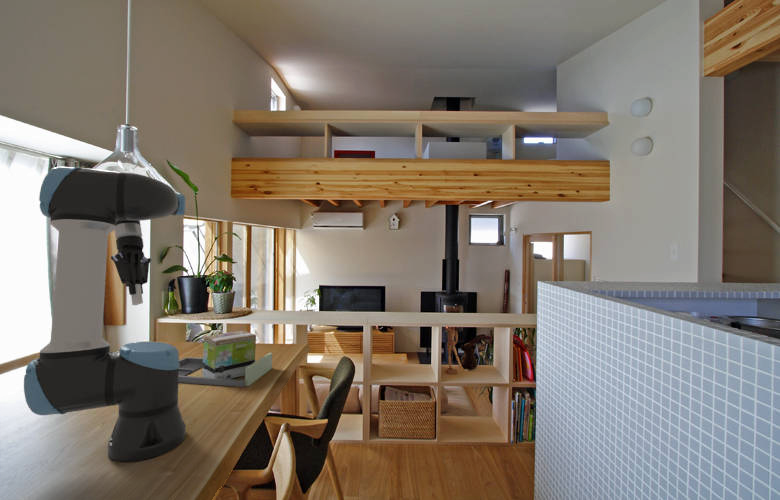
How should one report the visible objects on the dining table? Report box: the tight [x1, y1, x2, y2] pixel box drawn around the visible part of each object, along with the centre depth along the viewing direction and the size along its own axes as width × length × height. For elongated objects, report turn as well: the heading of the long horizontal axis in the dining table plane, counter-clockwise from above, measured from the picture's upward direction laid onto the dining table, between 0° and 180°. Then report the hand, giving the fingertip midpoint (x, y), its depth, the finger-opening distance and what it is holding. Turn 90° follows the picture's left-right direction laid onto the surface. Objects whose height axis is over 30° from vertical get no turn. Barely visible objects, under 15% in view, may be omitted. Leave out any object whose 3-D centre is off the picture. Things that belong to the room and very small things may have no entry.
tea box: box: [201, 330, 257, 379], centre depth 129 cm, size 15×10×15 cm
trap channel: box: [178, 356, 257, 388], centre depth 131 cm, size 20×35×2 cm, turn 84°
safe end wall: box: [244, 352, 273, 387], centre depth 129 cm, size 18×1×6 cm, turn 174°
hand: (137, 303), depth 118 cm, fingers closed
